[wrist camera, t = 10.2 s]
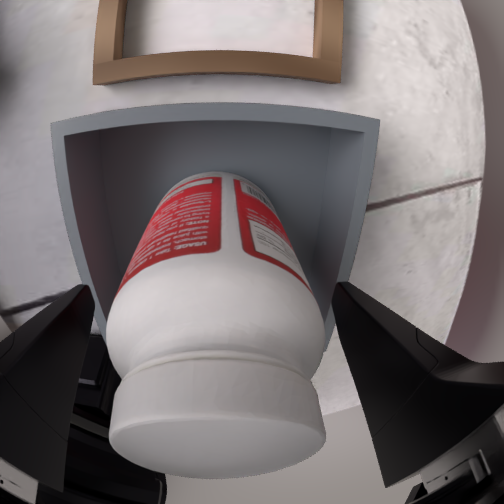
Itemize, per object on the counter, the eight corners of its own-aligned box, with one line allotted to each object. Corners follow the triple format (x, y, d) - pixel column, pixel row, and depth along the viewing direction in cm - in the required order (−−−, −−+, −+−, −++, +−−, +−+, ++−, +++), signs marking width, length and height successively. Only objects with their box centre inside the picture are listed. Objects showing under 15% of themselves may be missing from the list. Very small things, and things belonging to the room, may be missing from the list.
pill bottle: (151, 267, 15) (102, 468, 5) (164, 158, 12) (25, 350, 3) (259, 285, 16) (297, 481, 7) (292, 184, 13) (423, 384, 4)
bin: (308, 306, 18) (325, 351, 15) (125, 308, 17) (110, 354, 14) (340, 112, 12) (380, 119, 9) (92, 113, 11) (50, 123, 7)
